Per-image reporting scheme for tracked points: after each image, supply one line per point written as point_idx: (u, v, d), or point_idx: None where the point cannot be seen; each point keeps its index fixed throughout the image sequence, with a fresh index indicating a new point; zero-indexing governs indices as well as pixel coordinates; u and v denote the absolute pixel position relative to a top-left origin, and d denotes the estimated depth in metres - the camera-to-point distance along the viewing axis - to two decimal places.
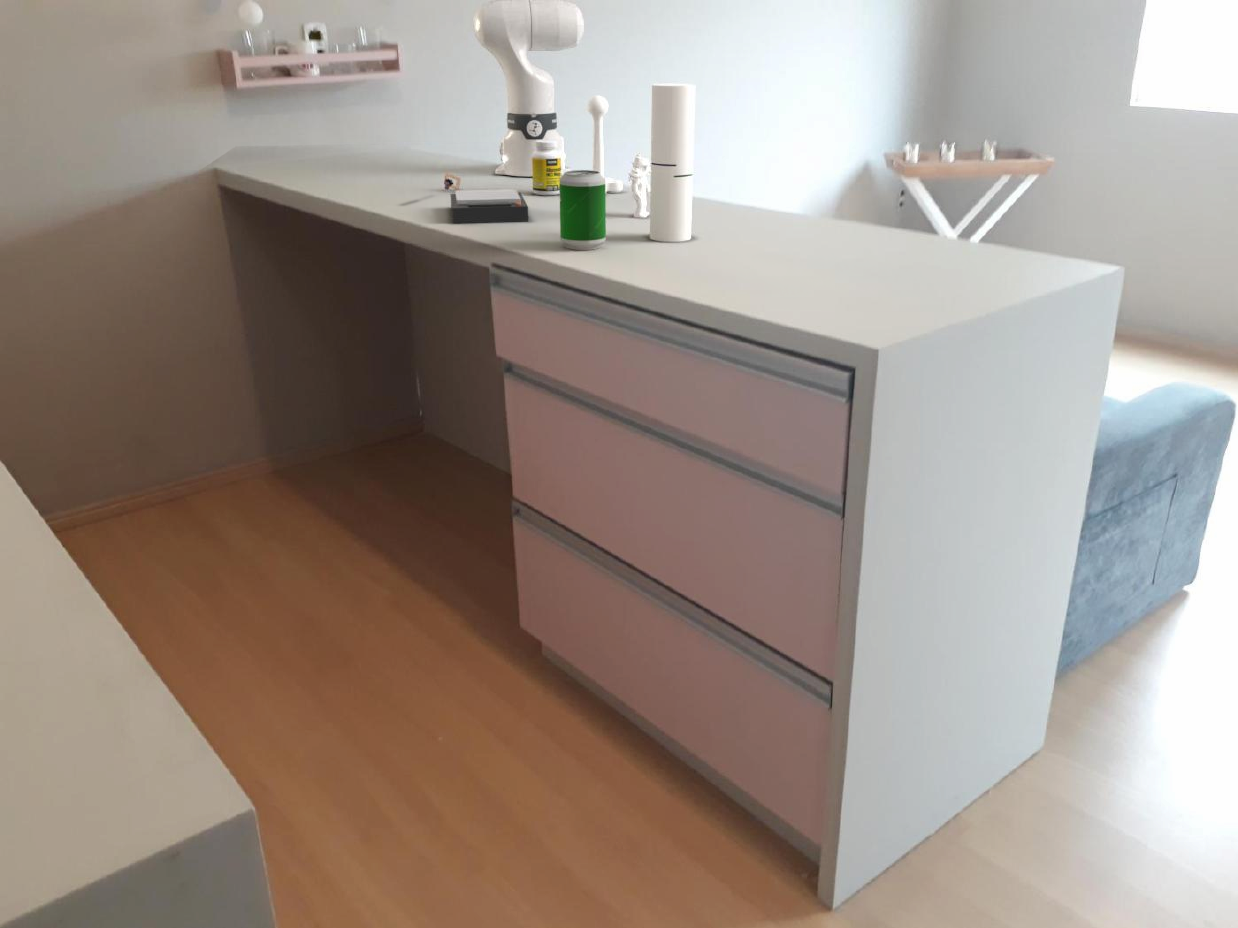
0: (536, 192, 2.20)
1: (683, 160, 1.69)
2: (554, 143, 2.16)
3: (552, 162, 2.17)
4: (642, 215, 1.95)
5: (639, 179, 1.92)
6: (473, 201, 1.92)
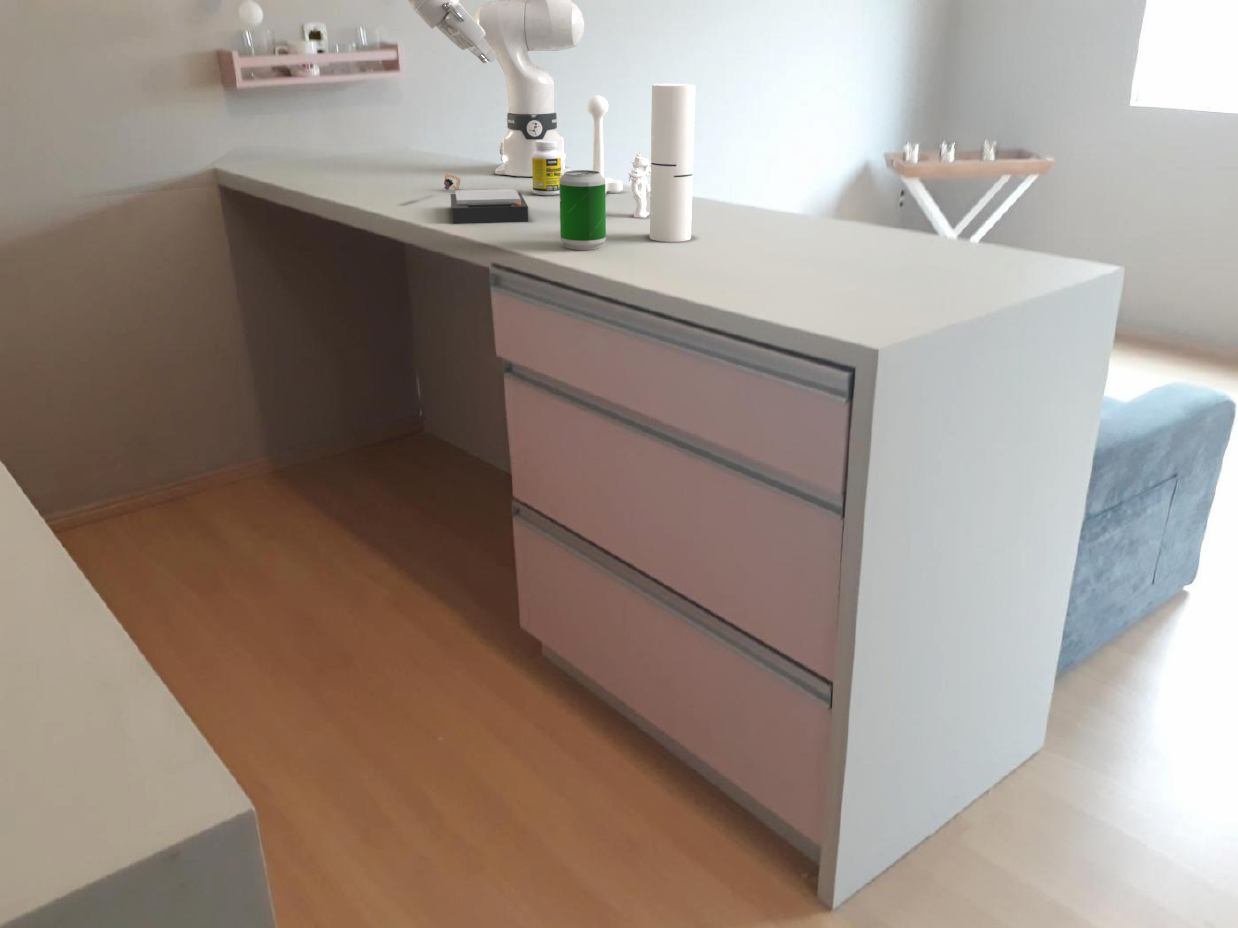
0: (536, 192, 2.20)
1: (683, 160, 1.69)
2: (554, 143, 2.16)
3: (552, 162, 2.17)
4: (642, 215, 1.95)
5: (639, 179, 1.92)
6: (473, 201, 1.92)
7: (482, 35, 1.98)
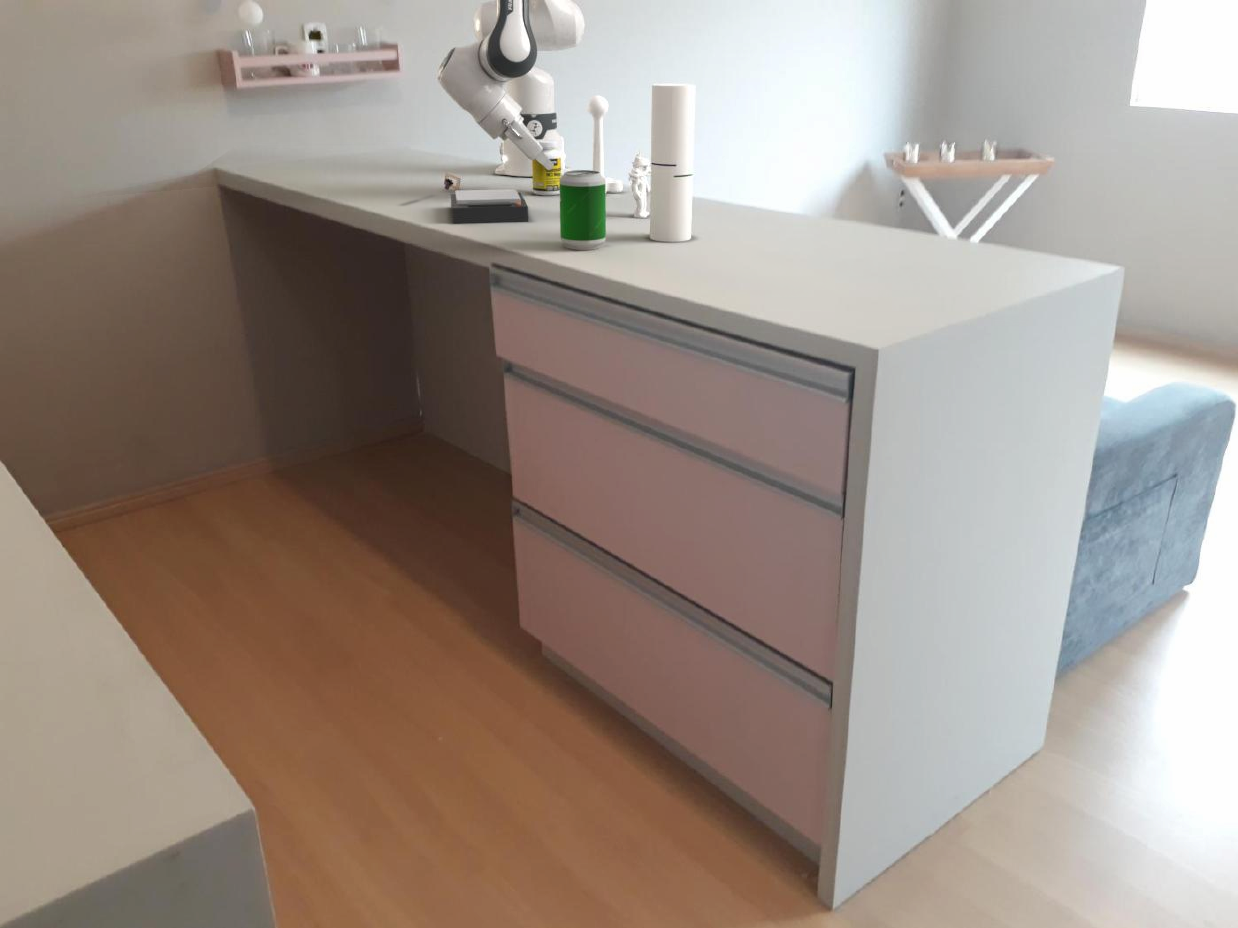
0: (536, 192, 2.20)
1: (683, 160, 1.69)
2: (554, 143, 2.16)
3: None
4: (642, 215, 1.95)
5: (639, 179, 1.92)
6: (473, 201, 1.92)
7: (539, 150, 2.09)
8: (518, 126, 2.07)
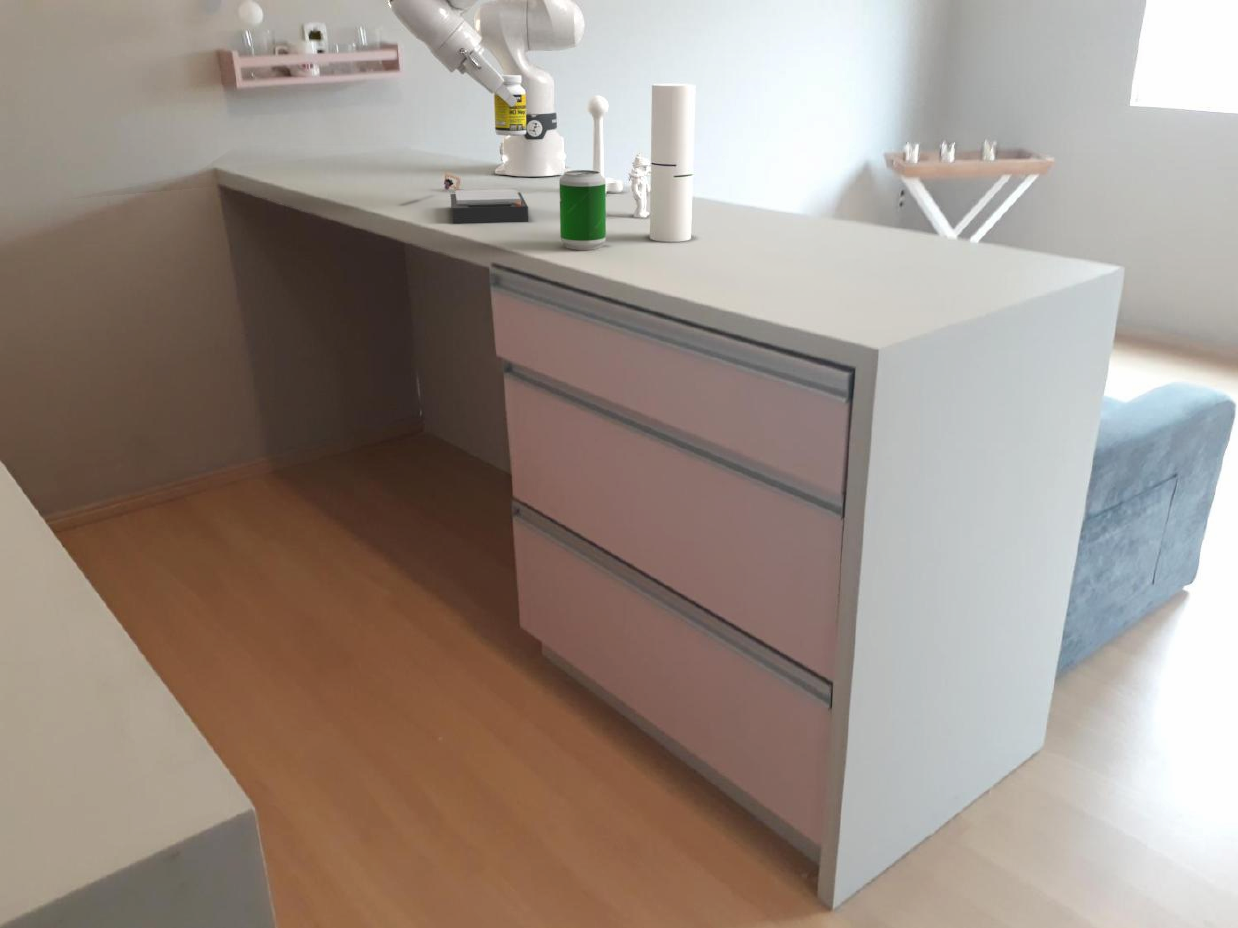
0: (498, 132, 2.01)
1: (683, 160, 1.69)
2: (518, 77, 1.97)
3: None
4: (642, 215, 1.95)
5: (639, 179, 1.92)
6: (473, 201, 1.92)
7: (500, 82, 1.90)
8: (476, 55, 1.88)
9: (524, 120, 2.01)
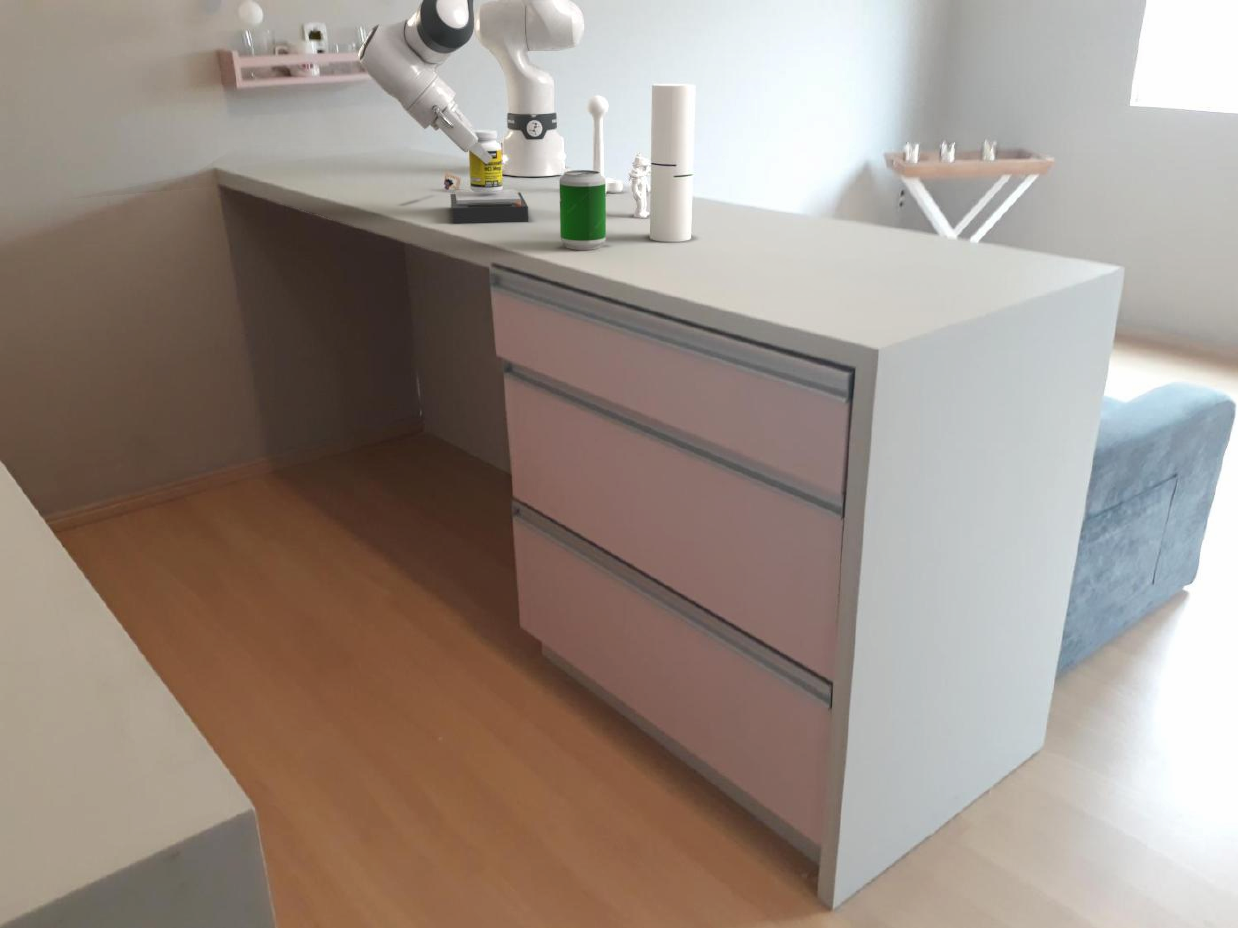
0: (474, 188, 1.95)
1: (683, 160, 1.69)
2: (493, 133, 1.92)
3: (491, 155, 1.92)
4: (642, 215, 1.95)
5: (639, 179, 1.92)
6: (473, 201, 1.92)
7: (474, 141, 1.84)
8: (449, 113, 1.82)
9: (500, 176, 1.95)
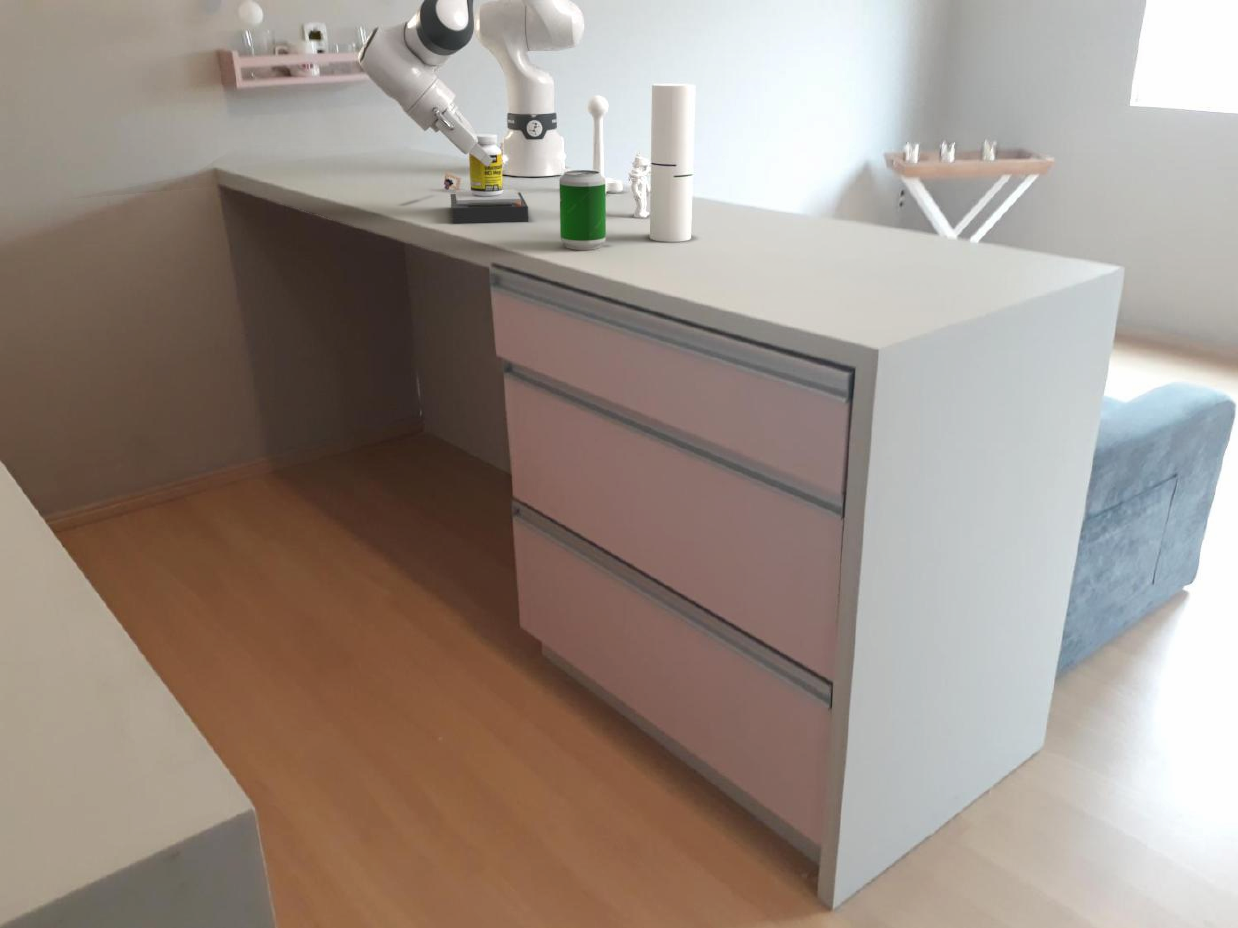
0: (474, 192, 1.96)
1: (683, 160, 1.69)
2: (493, 137, 1.92)
3: None
4: (642, 215, 1.95)
5: (639, 179, 1.92)
6: (473, 201, 1.92)
7: (473, 143, 1.85)
8: (449, 115, 1.83)
9: (500, 180, 1.96)
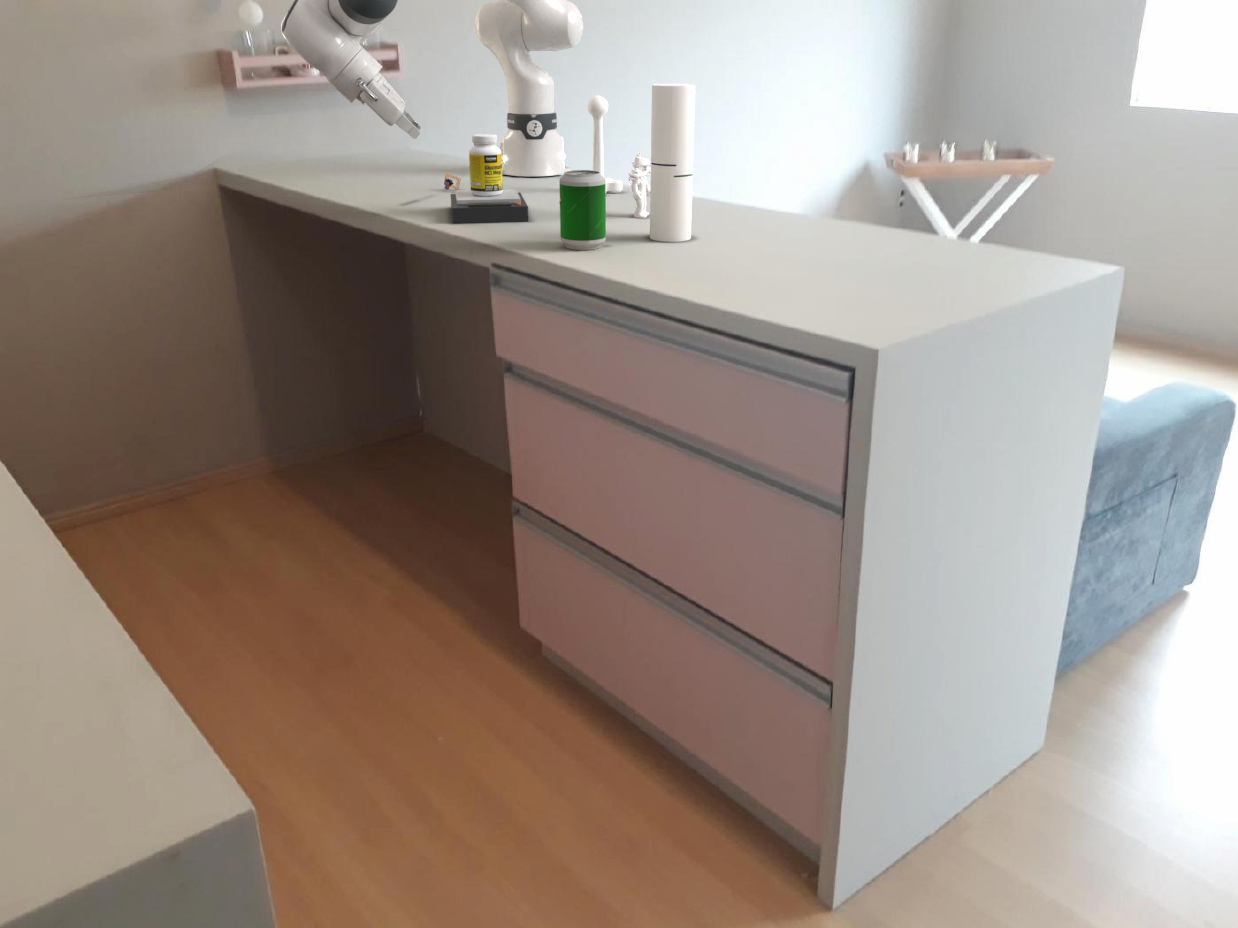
0: (474, 192, 1.96)
1: (683, 160, 1.69)
2: (493, 137, 1.92)
3: (491, 159, 1.93)
4: (642, 215, 1.95)
5: (639, 179, 1.92)
6: (473, 201, 1.92)
7: (398, 114, 1.81)
8: (372, 86, 1.79)
9: (500, 180, 1.96)
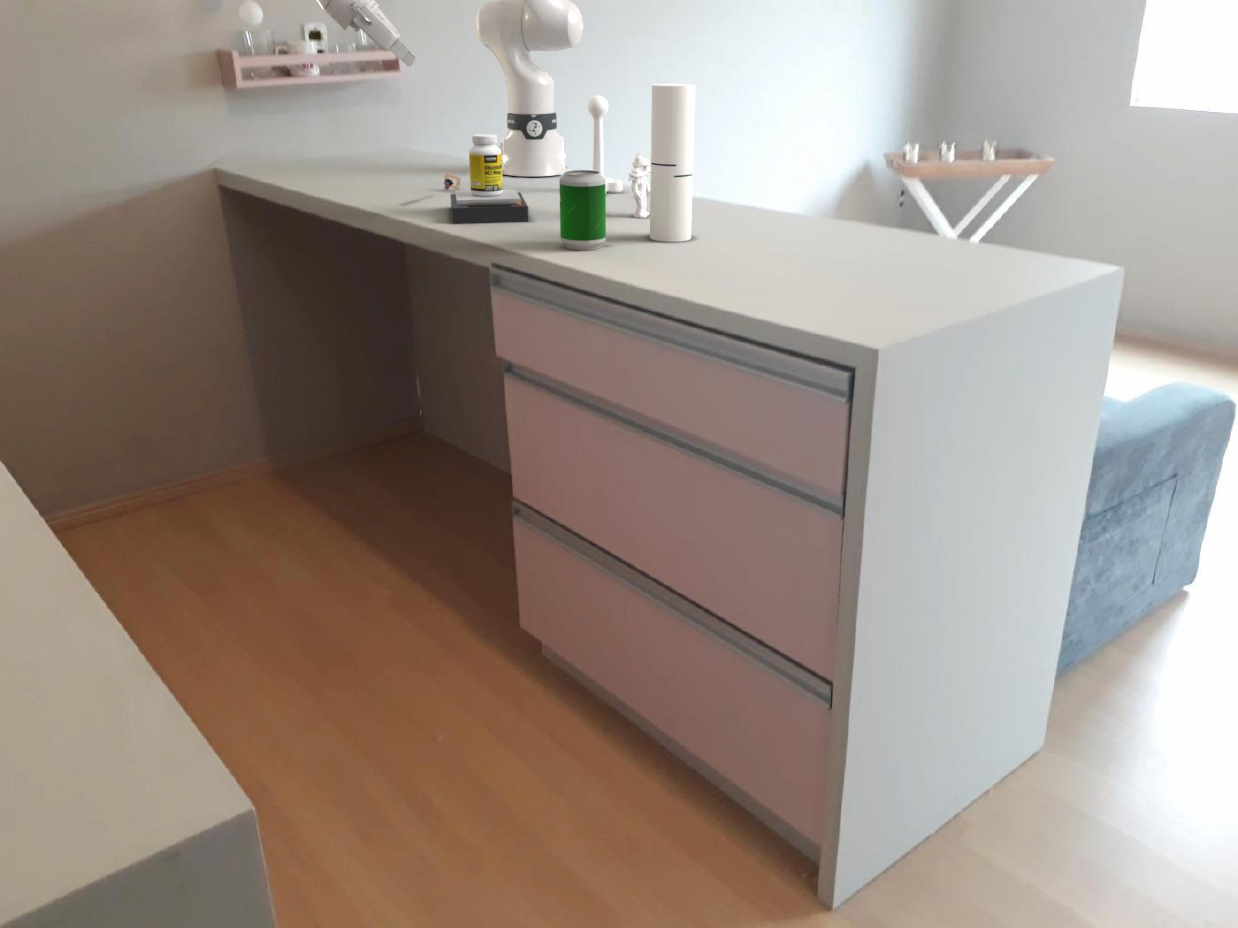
0: (474, 192, 1.96)
1: (683, 160, 1.69)
2: (493, 137, 1.92)
3: (491, 159, 1.93)
4: (642, 215, 1.95)
5: (639, 179, 1.92)
6: (473, 201, 1.92)
7: (393, 39, 1.78)
8: (366, 9, 1.76)
9: (500, 180, 1.96)
